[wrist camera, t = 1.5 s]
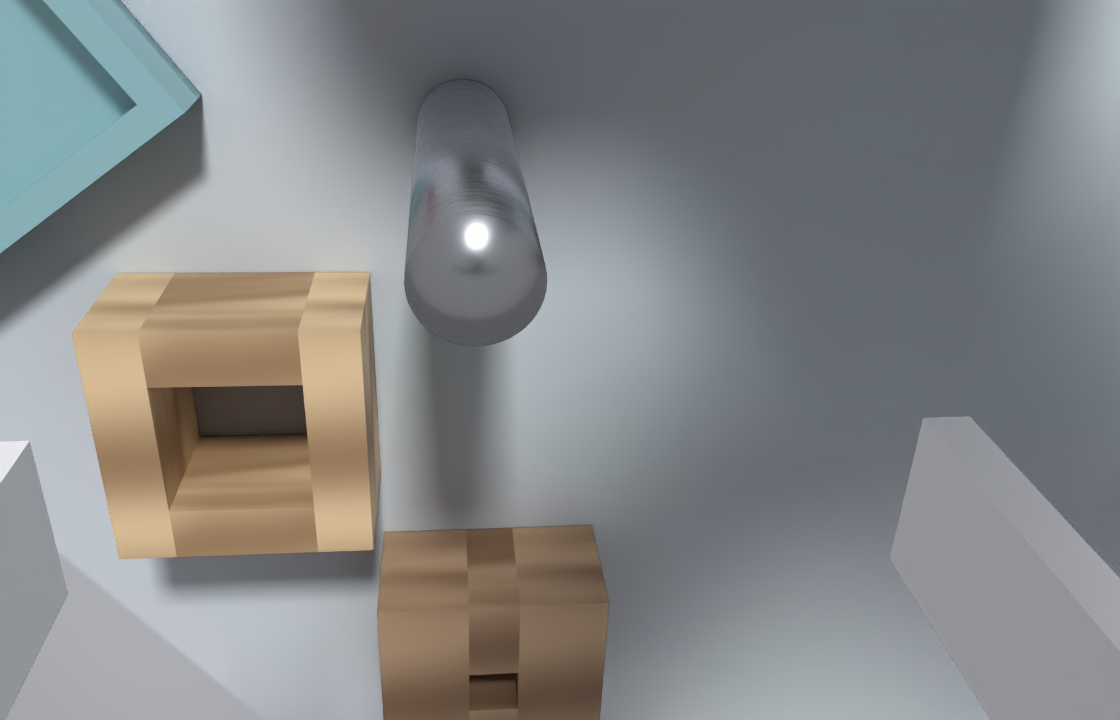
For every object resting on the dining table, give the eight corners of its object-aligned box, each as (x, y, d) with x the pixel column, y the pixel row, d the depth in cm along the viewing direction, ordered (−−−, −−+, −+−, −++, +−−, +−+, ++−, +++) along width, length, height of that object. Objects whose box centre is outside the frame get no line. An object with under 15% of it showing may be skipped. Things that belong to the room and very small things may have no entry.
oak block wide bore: (117, 273, 36) (71, 333, 31) (369, 272, 37) (360, 330, 32) (154, 480, 40) (119, 559, 35) (380, 473, 41) (373, 550, 36)
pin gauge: (416, 78, 34) (401, 214, 21) (509, 80, 34) (549, 215, 22) (418, 169, 35) (406, 346, 23) (508, 170, 35) (544, 345, 23)
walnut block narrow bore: (383, 532, 42) (377, 612, 38) (591, 525, 43) (609, 602, 39) (392, 686, 46) (387, 775, 42) (581, 676, 47) (596, 762, 43)
